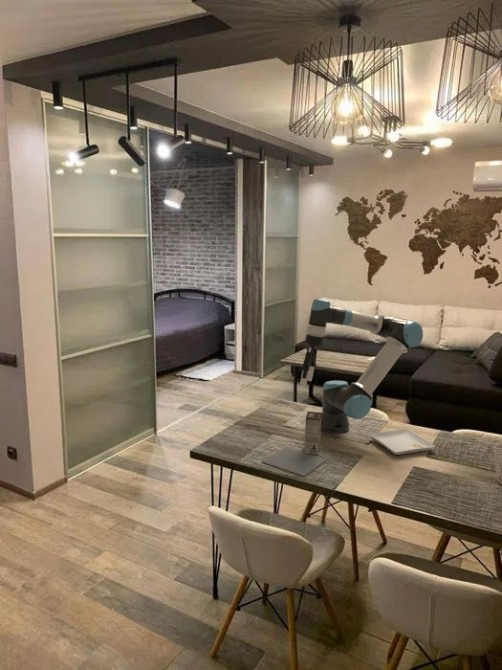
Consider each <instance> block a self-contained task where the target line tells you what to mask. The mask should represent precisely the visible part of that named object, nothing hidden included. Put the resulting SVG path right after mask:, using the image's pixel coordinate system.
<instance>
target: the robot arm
mask: <svg viewBox="0 0 502 670" xmlns="http://www.w3.org/2000/svg"><path fill="white" fill-rule="evenodd" d="M308 318H309V319H308V324H307V325H306V329H307V331H306V333H307V334H306V335H305V340H304V342H305V344H309V346H307V347H306V352H305V356H304V359H303V364H302V366H301V368H300V370H301V371H302V372H301V375H300V381H299V386H303V387H307V383H308V381H309V382H312V380H313V377H314V370H315V368H316V367H317V354H318V348H319V346H320V347H321V346H323V343H324V336H325V333H326V329H327V324H333V325H339V326H346V327H351V328H355V329H360V330H364V331H368V332H370V333H371V334H372V335H376V336H378V337H382V339H385V340H386V342H385V344H384V345H383V347H382V348H381V349H380V350H379V352H378V353H377V354H376V355H375V357H374V358H373V360H372V361H371V363H369V365H368V366H367V368H366V369H365V370H364V372H363V373H362V375H360V377H359V378H358V379H357V381H356V382H351V383H350V385H349V382H347V381H345V380H329V381H325V382H324V384H323V387H322V388H323V389H322V390H323V391H322V392H323V393H322V407H321V408H322V409H321V410H322V411H321V412H322V419H321V431H324V432H327V433H334V434H335V433H337V434H339V433H345V432H347V431H349V430H350V421H349V418H352V419H355V420H358V419H363V418H364V417H366V416H367V415H368V414H369V413H370V411H371V407H372V400H373V397H374V396H373V393H374V391H375V390H376V389H377V387H378V386H379V385H380V383H381V382H382V381H383V380H384V378H385V377H386V376H387V374H388V372H389V371H390V370H391V369H392V367H393V366H394V365H395V363H396V362H397V361H398V359H399V358H400V357H401V355H402V354H406V353H408V352H409V350H410V349H411V348H415V347H418V346H419V345H420V344H421V343H422V341H423V337H424V334H423V332H424V330H423V327H422V325H421V324H420V323H419V322H418V321H417V322H416V321H414V320H411V319H405V318H401V317H396V316H389V315H388V316H387V315H380V314H375V315H371V314H368V313H363V312H358V311H355V310H352V309H350V308H346V307H340V306H336V305H331V302H330V301H329V300H326V299H320V298H319V299H318V298H314V299H313V300H312V303H311V307H310V313H309V317H308Z"/></svg>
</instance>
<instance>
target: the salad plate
mask: <svg viewBox="0 0 502 670" xmlns="http://www.w3.org/2000/svg"><path fill="white" fill-rule="evenodd" d="M368 435H369V437H370V438H371V439H372V440H373V441H375V443H378V444H379V445H381V446H383V447H384V448H385V449H387V450H388V451H389V452H391V453H392V454H393V455H397V456H399V455H405V454H406V453H407V454H412V453H413V452H414V453H420V452H419V451H421V452H426V450H427V451H430V450H433V449H434V448H435V447H436V445H434V444H433V443H431V442H429V441H428V440H426V439H425V438H423V437H421V436H419V434H417V433H415V432H414V431H412V430H410V429H408V428H402V429H395V430H386V431H378V432H374V433H373V432H372V433H369V434H368ZM413 441H414V442H413ZM412 442H413V443H412ZM414 443H417V444H419V445H422V446H423V447H424V448H418V447H417V448H418V449H417V448H415V449H414V446H412V445H413V444H414ZM409 445H410V446H409ZM411 446H412V447H411ZM416 446H417V445H416Z"/></svg>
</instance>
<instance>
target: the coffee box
mask: <svg viewBox="0 0 502 670" xmlns="http://www.w3.org/2000/svg"><path fill="white" fill-rule="evenodd" d="M321 419H322V411H320V412H319V411H307V414H306V416H305V427H304V429H305V430H304V431H305V432H304V433H305V434H304V452H303V453H306V454H309V455H319V454H320V450H321V440H322V437H321V436H322V430H321Z"/></svg>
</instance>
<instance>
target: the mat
mask: <svg viewBox="0 0 502 670" xmlns="http://www.w3.org/2000/svg"><path fill="white" fill-rule="evenodd" d="M326 462H327V459H325V458H323V457H318V456H315V455H313V454H307V453H304V452H303V451H299V450H296V449H292V448H289V447H286V446H285V447H284V448H282V449H281V450H278V451H277V452H276V453H274V454H272V455H271V456H269V457H267V458H266V459H264V460H263V461H262V462H261V463H263V464H265V465H268V466H271V467H274V468H277V469H280V470H283V471H286V472H288V473H291V474H294V475H298V476H302V477H304V478H305V477H306V476H309V474H311V473H312V472H313V471H315V470H316V469H318V468H319V467H320V466H322V465H323V464H325V463H326Z"/></svg>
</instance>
